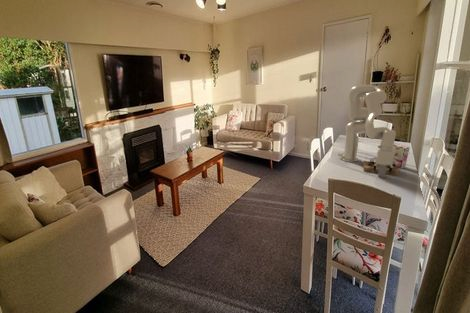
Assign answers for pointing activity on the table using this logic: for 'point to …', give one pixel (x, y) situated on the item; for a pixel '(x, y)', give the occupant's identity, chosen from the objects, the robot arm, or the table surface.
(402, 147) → the candy bar box
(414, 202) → the table surface
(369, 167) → the socket board
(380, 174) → the plug
